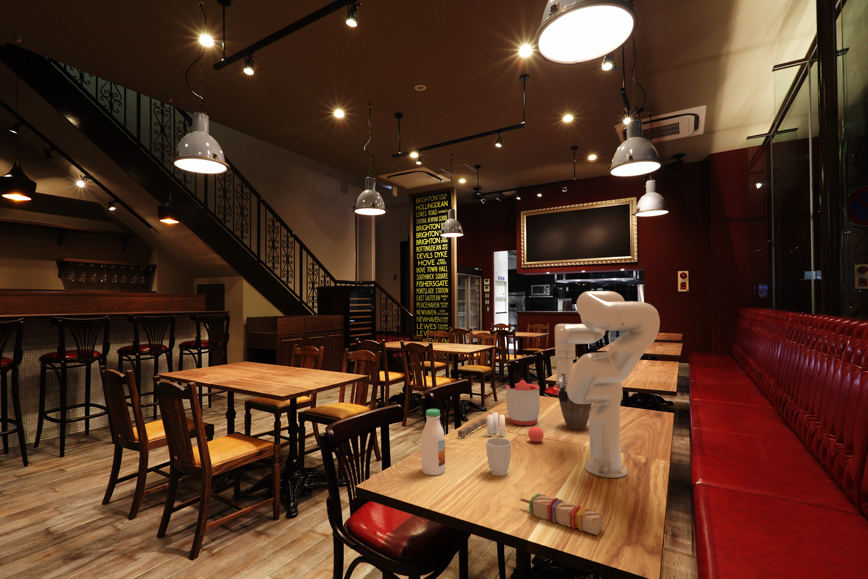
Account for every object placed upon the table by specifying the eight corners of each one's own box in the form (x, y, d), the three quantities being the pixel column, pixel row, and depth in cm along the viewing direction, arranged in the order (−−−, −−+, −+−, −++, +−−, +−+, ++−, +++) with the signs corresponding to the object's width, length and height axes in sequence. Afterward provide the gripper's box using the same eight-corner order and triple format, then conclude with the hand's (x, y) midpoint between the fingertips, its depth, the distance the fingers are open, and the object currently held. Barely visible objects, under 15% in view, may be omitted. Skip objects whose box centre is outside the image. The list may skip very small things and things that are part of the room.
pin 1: (491, 437, 169) (491, 416, 170) (486, 436, 171) (486, 415, 171) (494, 435, 172) (493, 415, 172) (489, 434, 173) (488, 414, 173)
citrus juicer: (518, 415, 203) (517, 375, 204) (547, 423, 189) (546, 379, 190) (496, 421, 193) (496, 378, 194) (525, 429, 180) (524, 384, 181)
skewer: (605, 529, 99) (604, 508, 99) (596, 541, 94) (595, 518, 94) (526, 503, 112) (526, 485, 112) (515, 513, 107) (515, 493, 107)
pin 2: (496, 434, 174) (496, 414, 174) (491, 433, 175) (491, 413, 175) (499, 432, 176) (498, 412, 176) (494, 431, 177) (493, 412, 177)
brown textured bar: (462, 439, 168) (462, 431, 168) (458, 438, 169) (458, 430, 169) (487, 424, 188) (487, 418, 188) (483, 424, 189) (483, 417, 189)
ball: (540, 445, 159) (540, 429, 159) (526, 442, 162) (525, 427, 162) (545, 441, 164) (545, 426, 164) (531, 438, 167) (530, 423, 167)
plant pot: (591, 435, 171) (589, 396, 171) (555, 430, 178) (554, 393, 179) (596, 426, 183) (595, 390, 184) (562, 422, 191) (561, 387, 192)
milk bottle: (431, 478, 129) (431, 414, 130) (417, 470, 135) (416, 409, 136) (450, 471, 134) (449, 410, 135) (435, 465, 140) (434, 406, 141)
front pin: (503, 437, 169) (503, 416, 170) (498, 436, 171) (498, 415, 171) (506, 435, 171) (505, 415, 172) (500, 434, 173) (500, 414, 173)
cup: (515, 471, 134) (514, 440, 135) (506, 480, 127) (505, 447, 128) (492, 466, 138) (491, 436, 139) (482, 475, 131) (482, 443, 132)
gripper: (560, 352, 170) (561, 393, 170) (550, 357, 156) (551, 402, 155) (579, 353, 167) (580, 395, 166) (570, 358, 152) (571, 404, 151)
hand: (566, 398), depth 160 cm, fingers open, 9 cm apart
